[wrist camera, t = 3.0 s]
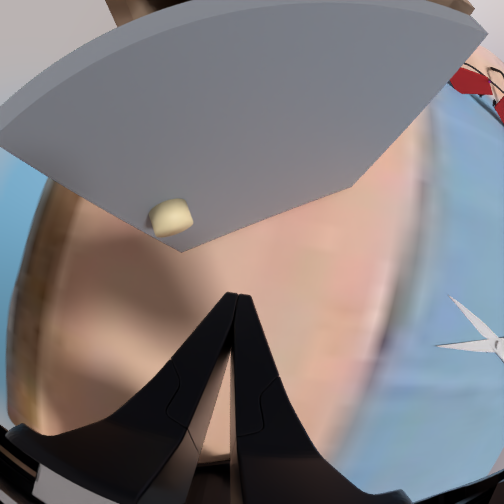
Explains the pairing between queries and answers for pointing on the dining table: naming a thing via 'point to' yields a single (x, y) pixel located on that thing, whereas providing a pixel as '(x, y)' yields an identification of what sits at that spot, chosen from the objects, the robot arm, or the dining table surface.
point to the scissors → (492, 344)
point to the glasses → (476, 85)
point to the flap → (234, 107)
